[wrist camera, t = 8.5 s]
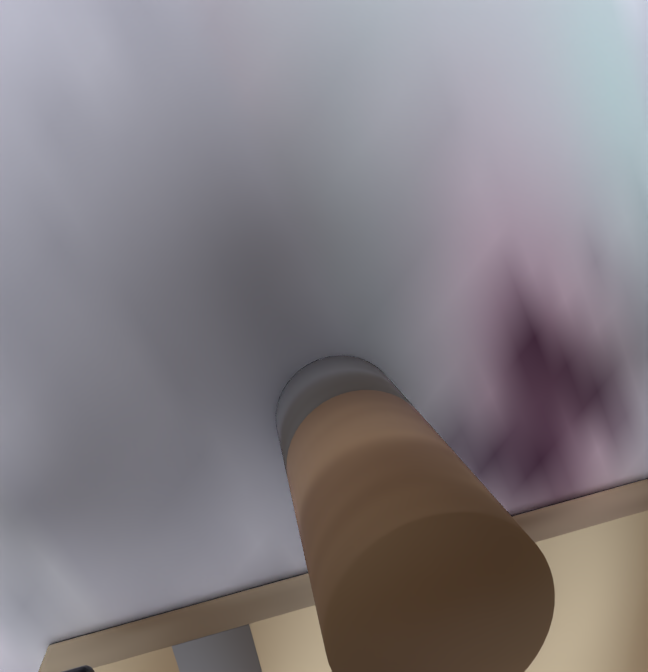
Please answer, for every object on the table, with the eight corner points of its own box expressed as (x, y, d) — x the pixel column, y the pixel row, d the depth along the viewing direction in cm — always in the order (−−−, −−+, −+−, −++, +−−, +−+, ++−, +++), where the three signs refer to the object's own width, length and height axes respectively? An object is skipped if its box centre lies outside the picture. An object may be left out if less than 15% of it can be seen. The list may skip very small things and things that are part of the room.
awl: (420, 388, 14) (597, 561, 7) (360, 490, 14) (477, 746, 8) (313, 334, 13) (402, 474, 7) (253, 444, 14) (280, 682, 7)
